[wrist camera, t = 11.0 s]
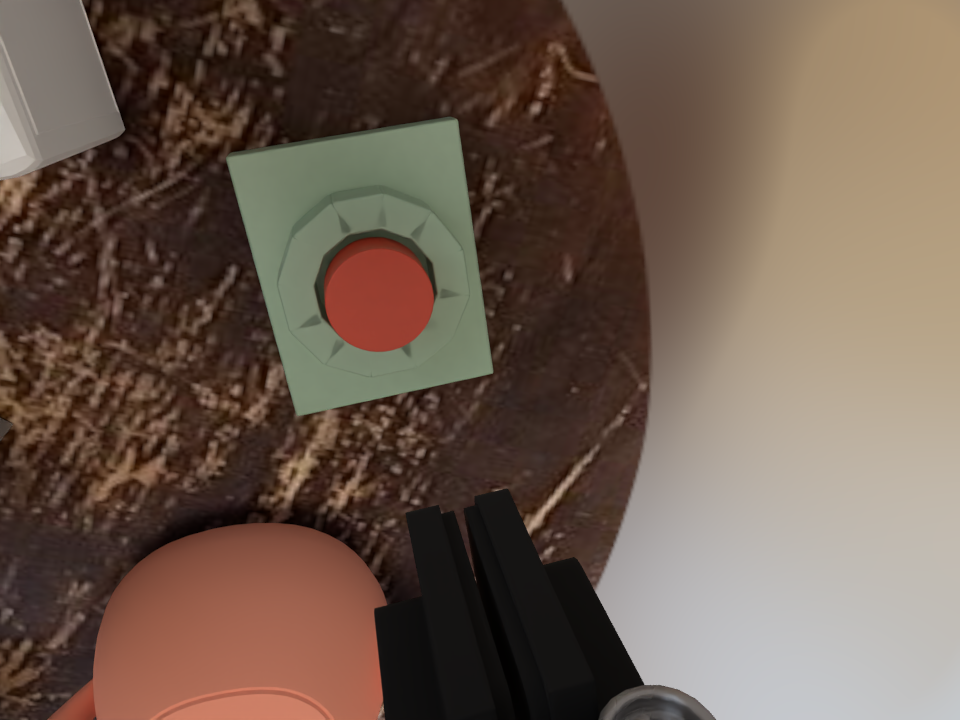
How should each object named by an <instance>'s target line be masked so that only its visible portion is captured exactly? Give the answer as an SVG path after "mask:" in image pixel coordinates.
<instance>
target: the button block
mask: <svg viewBox="0 0 960 720" xmlns="http://www.w3.org/2000/svg"><path fill="white" fill-rule="evenodd" d="M226 161H227V164H228V168H229V172H230V175H231V179H232V183H233V186H234V190H235V193H236V197H237V201H238V204H239V208H240V212H241V215H242V219H243V223H244V226H245V230H246V234H247V237H248V241H249V244H250V248H251V252H252V255H253V259H254V263H255V266H256V270H257V274H258V277H259V281H260V284H261V288H262V292H263V295H264V299H265V303H266V306H267V310H268V314H269V317H270V321H271V325H272V328H273V332H274V335H275V339H276V343H277V346H278V350H279V354H280V357H281V361H282V365H283V368H284V372H285V375H286V379H287V383H288V386H289V390H290V394H291V397H292V401H293V405H294V408H295V412H296V415H297V416H301V415H306V414H310V413H315V412H320V411H324V410H329V409H333V408H338V407H342V406H347V405H351V404H356V403H361V402H365V401H370V400H374V399H379V398H383V397H388V396H393V395H397V394H402V393H406V392H411V391H415V390H420V389H424V388H429V387H434V386H438V385H443V384H447V383H452V382H456V381H461V380H466V379H470V378H475V377H479V376H484V375H488V374H492V373H493V366H492V359H491V352H490V345H489V338H488V330H487V323H486V316H485V309H484V302H483V295H482V288H481V281H480V274H479V267H478V260H477V253H476V246H475V238H474V231H473V224H472V217H471V210H470V203H469V196H468V189H467V182H466V175H465V168H464V161H463V154H462V146H461V139H460V132H459V125H458V120H457V119H455V118H453V117H445V118H439V119H433V120H426V121H420V122H414V123H408V124H402V125H396V126H390V127H384V128H378V129H372V130H366V131H360V132H354V133H348V134H341V135H335V136H329V137H323V138H317V139H311V140H305V141H299V142H293V143H287V144H281V145H275V146H269V147H262V148H256V149H250V150H244V151H238V152H232V153H230V154H229V155H228V156H227V157H226ZM368 237H384V238H389V239H392V240H395V241H397V242H400V243H401V244H403V245H405V246H406V247H408V248H409V249H410V250H411V251H412V252H413V253H414V254H415V255H416V256H417V258H418V259H419V261H420V262H421V264H422V266H423V268H424V270H425V271H426V273H427V275H428V277H429V279H430V281H431V284H432V288H433V293H434V305H433V311H432V314H431V317H430V320H429V322H428V324H427V325H426V327H425V329H424V330H423V331H422V332H421V333H420V335H419V336H417V337H416V338H415V339H414V340H413V341H411V342H410V343H408V344H407V345H405V346H403V347H400V348H398V349H395V350H391V351H385V352H372V351H366V350H362V349H359V348H356V347H354V346H352V345H350V344H349V343H347V342H346V341H344V340H343V339H342V338H341V337H340V336H339V335H338V334H337V333H336V332H335V330H334V329H333V327H332V326H331V324H330V322H329V320H328V317H327V314H326V309H325V298H324V279H325V275H326V271H327V269H328V266H329V264H330V262H331V261H332V259H333V258H334V257H335V255H336V254H337V253H338V252H339V251H340V250H341V249H343V248H344V247H345V246H347V245H348V244H350V243H352V242H354V241H357V240H359V239H363V238H368Z"/></svg>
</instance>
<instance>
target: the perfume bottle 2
mask: <svg viewBox="0 0 960 720" xmlns="http://www.w3.org/2000/svg"><path fill="white" fill-rule="evenodd" d="M124 131H125V127H124V124H123V121H122V118H121V115H120V112H119V109H118V106H117V104H116V101H115V98H114V95H113V92H112V89H111V86H110V83H109V80H108V77H107V74H106V71H105V68H104V65H103V62H102V59H101V56H100V53H99V50H98V47H97V44H96V41H95V38H94V35H93V32H92V29H91V26H90V23H89V20H88V17H87V14H86V11H85V8H84V5H83V3H82V0H0V180H5V179H11V178H17V177H20V176H23V175H25V174H28V173H30V172H33V171H35V170H38V169H40V168H43V167H45V166H48V165H50V164H53V163H55V162H58V161H60V160H63V159H65V158H68V157H70V156H73V155H75V154H78V153H80V152H83V151H86V150H88V149H91V148H93V147H96V146H98V145H101V144H103V143H106V142H108V141H110V140H113V139H115V138H117V137H119V136H120V135H121V134H122V133H123V132H124Z"/></svg>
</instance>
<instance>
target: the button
mask: <svg viewBox="0 0 960 720" xmlns="http://www.w3.org/2000/svg"><path fill="white" fill-rule="evenodd" d="M324 298H325V309H326V314H327V317H328V320H329V322H330V324H331V326H332V327H333V329H334V330H335V332H336V333H337V334H338V335H339V336H340V337H341V338H342V339H343V340H344V341H346V342H347V343H349V344H350V345H352V346H354V347H356V348H359V349H362V350H366V351H372V352H385V351H391V350H395V349H398V348H400V347H403V346H405V345H407V344H408V343H410V342H411V341H413V340H414V339H415V338H416V337H417V336H419V335H420V333H421V332H422V331H423V330H424V329H425V327H426V325H427V324H428V322H429V320H430V317H431V314H432V311H433V305H434V293H433V288H432V284H431V281H430V279H429V277H428V275H427V273H426V271H425V270H424V268H423V266H422V264H421V262H420V261H419V259H418V258H417V256H416V255H415V254H414V253H413V252H412V251H411V250H410V249H409V248H408V247H406V246H405V245H403V244H401V243H400V242H397V241H395V240H392V239H389V238H384V237H368V238H363V239H359V240H357V241H354V242H352V243H350V244H348V245H347V246H345V247H344V248H343V249H341V250H340V251H339V252H338V253H337V254H336V255H335V257H334V258H333V259H332V261H331V262H330V264H329V266H328V269H327V271H326V275H325V279H324Z"/></svg>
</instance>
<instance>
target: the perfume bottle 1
mask: <svg viewBox="0 0 960 720" xmlns="http://www.w3.org/2000/svg"><path fill="white" fill-rule="evenodd" d="M12 425H13V424H12V423H10V422H8V421H6V420H4V419H2V418H0V442H1V440H2V439H3V437H4V436H5V435H6V433H7V432H8V431H9V429H10V428H11V426H12Z"/></svg>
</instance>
